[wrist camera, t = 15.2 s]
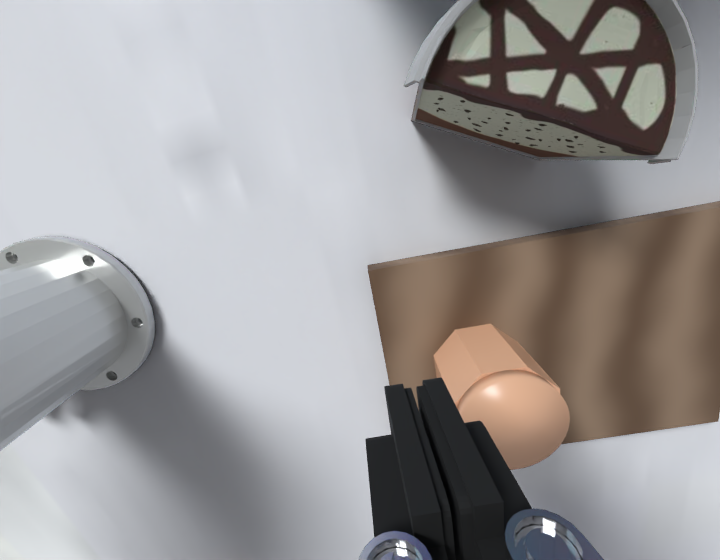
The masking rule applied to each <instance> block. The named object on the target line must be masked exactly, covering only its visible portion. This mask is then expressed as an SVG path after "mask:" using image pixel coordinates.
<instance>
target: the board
mask: <svg viewBox="0 0 720 560" xmlns="http://www.w3.org/2000/svg"><path fill="white" fill-rule="evenodd" d="M368 273H369V278H370V284H371V289H372V294H373V300H374V305H375V310H376V315H377V321H378V326H379V331H380V336H381V342H382V347H383V352H384V357H385V363H386V368H387V373H388V379H389V384H390V385H396V384H403V386H404V388H410V387H411V389H412V392H413V395H414V398H415V401H416V404H417V407H418V399H417V390H416V387H417V386H423V385H422V381H423V380H428V379H434V378H437V376H436V369H435V362H434V356H433V355H434V354H435V353H436V352H437V351H438V349H439V348H440V347H441V346H442V345H443V343H444V342H445V341H446V340H447V339H448V338H449V336H450V335H451V334H452V333H453V332H454V330H455V329H461V328H467V327H473V326H479V325H485V324H492V325H493V326H495V327H496V328H498V329H499V330H501V331H502V332H504V333H505V334H507V335H508V336H510V337H511V338H512V339H514V340H515V341H517V342H518V343H519V344H520V345H521V346H522V347H523V348H524V349H525V351H526V352H527V353H528V354H529V355H530V356H531V357H532V358H533V359H534V360H535V361H536V363H537V364H538V365H539V366H540V367H541V368H542V369H543V370H544V371H545V372H546V374H547V375H548V376H549V377H550V378H551V379H552V380H553V381H554V382H555V383H556V384H557V386H558V387H559V388H560V395H561V396H562V397H563V399H564V400H565V402H566V404H567V406H568V409H569V414H570V424H569V429H568V432H567V434H566V437H565V438H564V440H563V442H562V443H561V444H566V443H572V442H579V441H586V440H593V439H600V438H607V437H614V436H621V435H627V434H634V433H641V432H648V431H655V430H662V429H669V428H676V427H682V426H689V425H696V424H703V423H710V422H717V421H718V419H719V412H720V201H718V202H713V203H707V204H702V205H696V206H691V207H685V208H680V209H674V210H669V211H664V212H658V213H653V214H647V215H642V216H636V217H631V218H625V219H620V220H614V221H609V222H603V223H598V224H592V225H587V226H581V227H576V228H570V229H565V230H559V231H554V232H548V233H543V234H537V235H532V236H526V237H521V238H515V239H510V240H504V241H499V242H493V243H488V244H482V245H477V246H471V247H466V248H460V249H455V250H449V251H444V252H438V253H433V254H427V255H422V256H416V257H411V258H405V259H400V260H394V261H389V262H383V263H378V264H372V265H368ZM418 410H419V408H418Z"/></svg>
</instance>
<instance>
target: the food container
mask: <svg viewBox="0 0 720 560" xmlns="http://www.w3.org/2000/svg"><path fill="white" fill-rule="evenodd" d="M416 82H417V83H419V86H418V91H417V95H416V100H415V105H414V109H413V114H412V119H411V121H414V122H418V123H421V124H424V125H427V126H431V127H434V128H437V129H440V130H444V131H447V132H450V133H453V134H457V135H460V136H463V137H466V138H470V139H473V140H476V141H479V142H483V143H486V144H489V145H492V146H496V147H499V148H502V149H505V150H509V151H512V152H515V153H518V154H522V155H525V156H528V157H531V158H535V159H538V160H649V161H648V163H649V164H655V163H663V162H671V160H676V159H679V156H680V154H681V152H682V150H683V147H684V145H685V143H686V141H687V138H688V135H689V131H690V128H691V125H692V121H693V118H694V114H695V108H696V101H697V94H698V62H697V55H696V49H695V42H694V39H693V36H692V33H691V30H690V27H689V24H688V21H687V19H686V17H685V15H684V13H683V12H682V10H681V8H680V6H679V4H678V3H677V1H676V0H459V1H457V2H456V3H455V4H454V5H453V6H452V7H451V8H450V9H449V10H448V11H447V12H446V13H445V14H444V16H443V17H442V18H441V19H440V20H439V21H438V22H437V23H436V25H435V26H434V28H433V29H432V30H431V32H430V33H429V35H428V36H427V37H426V39H425V40H424V42H423V43H422V45H421V47H420V49H419V51H418V53H417V55H416V57H415V59H414V60H413V62H412V64H411V67H410V70H409V72H408V75H407V78H406V81H405V83H404V86H405V87H408V86H410V85H412V84H414V83H416Z"/></svg>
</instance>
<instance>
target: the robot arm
mask: <svg viewBox="0 0 720 560" xmlns="http://www.w3.org/2000/svg"><path fill="white" fill-rule="evenodd" d="M154 336H155V321H154V316H153V311H152V307H151V304H150V302H149V299H148V297H147V295H146V293H145V291H144V290H143V288H142V286H141V285H140V283H139V282H138V280H137V279H136V278H135V277H134V275H133V274H132V273H131V272H130V271H129V270H128V269H127V268H126V267H125V266H124V265H123V264H122V263H120V262H119V261H118V260H117V259H116V258H114V257H113V256H112V255H110V254H108V253H107V252H105V251H103V250H102V249H100V248H98V247H96V246H94V245H91V244H89V243H86V242H84V241H81V240H77V239H72V238H68V237H59V236H45V237H39V238H32V239H28V240H24V241H20V242H17V243H14V244H12V245H10V246H8V247H6V248H4V249H3V250H1V251H0V451H1V450H2V449H4V448H5V447H6V446H7V445H9V444H10V443H11V442H13V441H14V440H15V439H16V438H18V437H19V436H20V435H22V434H23V433H24V432H25V431H27V430H28V429H29V428H31V427H32V426H33V425H35V424H36V423H37V422H38V421H40V420H41V419H42V418H44V417H45V416H46V415H47V414H49V413H50V412H51V411H53V410H54V409H55V408H56V407H58V406H59V405H60V404H62V403H63V402H64V401H65V400H67V399H68V398H69V397H71V396H72V395H73V394H75V393H76V392H77V391H78V390H96V389H103V388H106V387H109V386H112V385H115V384H118V383H119V382H121V381H123V380H124V379H126V378H128V377H129V376H130V375H131V374H132V373H134V372H135V371H136V370H137V369H138V368H139V367H140V366H141V365H142V363H143V362H144V361H145V360H146V359H147V357H148V355H149V353H150V351H151V349H152V345H153V341H154ZM422 385H423V386H417V387H416V390H417V399H418V407H417V404H416V401H415V398H414V395H413V392H412V389H411V387H410V388H404V386H403V384H396V385H390V386H385V394H386V401H387V408H388V415H389V422H390V428H391V435H386V436H380V437H373V438H367V439H366V450H367V461H368V472H369V483H370V494H371V505H372V516H373V526H374V537H375V538H373V539H372V540H371V541H370V542H369V543H368V544H367V545H366V546H365V548H364V549H363V551H362V553H361V555H360V556H359V560H604V559H603V558H602V557H601V556H600V555H599V553H598V552H597V551H596V550H595V549H594V547H593V546H592V545H591V544H590V543H589V542H588V540H587V539H586V538H585V537H584V536H583V534H582V533H581V532H580V531H579V530H578V529H577V528H576V527H575V526H574V525H572V524H571V523H570V522H569V521H567V520H566V519H564V518H562V517H561V516H559V515H557V514H555V513H552V512H549V511H547V510H541V509H532V508H531V506H530V504H529V502H528V501H527V499H526V497H525V495H524V494H523V492H522V490H521V488H520V487H519V485H518V483H517V481H516V480H515V478H514V476H513V474H512V473H511V471H510V469H509V467H508V466H507V464H506V462H505V460H504V459H503V457H502V455H501V453H500V452H499V450H498V448H497V446H496V445H495V443H494V441H493V439H492V438H491V436H490V434H489V432H488V431H487V429H486V427H485V426H484V424H483V423H482V422H481V421H480V420H479V421H473V422H467V423H464V421H463V419H462V417H461V415H460V413H459V411H458V409H457V407H456V405H455V403H454V401H453V399H452V397H451V395H450V393H449V391H448V389H447V387H446V385H445V383H444V381H443V379H442V378H441V377H440V378H434V379H428V380H423V381H422ZM418 408H419V410H418Z"/></svg>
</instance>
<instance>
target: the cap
mask: <svg viewBox="0 0 720 560" xmlns="http://www.w3.org/2000/svg"><path fill="white" fill-rule="evenodd" d="M433 356H434V362H435V369H436V376H437V378H440V377H441V378H442V379H443V381H444V383H445V385H446V387H447V389H448V391H449V393H450V395H451V397H452V399H453V401H454V403H455V405H456V407H457V409H458V411H459V413H460V415H461V417H462V419H463V421H464V423H467V422H473V421H479V420H480V421H481V422H482V423H483V424H484V426H485V427H486V429H487V431H488V432H489V434H490V436H491V438H492V439H493V441H494V443H495V445H496V446H497V448H498V450H499V452H500V453H501V455H502V457H503V459H504V460H505V462H506V464H507V466H508V467H509V469H510V470H513V469H520V468H525V467H528V466H531V465H534V464H536V463H538V462H540V461H542V460H544V459H545V458H547V457H548V456H550V455H551V454H552V453H553V452H554V451H555V450H556V449H557V448H558V447H559V446H560V445H561V443H562V442H563V440H564V438H565V437H566V434H567V432H568V429H569V424H570V414H569V409H568V406H567V404H566V402H565V400H564V399H563V397H562V396H561V395H560V388H559V387H558V386H557V384H556V383H555V382H554V381H553V380H552V379H551V378H550V377H549V376H548V375H547V374H546V372H545V371H544V370H543V369H542V368H541V367H540V366H539V365H538V364H537V363H536V361H535V360H534V359H533V358H532V357H531V356H530V355H529V354H528V353H527V352H526V351H525V349H524V348H523V347H522V346H521V345H520V344H519V343H518V342H517V341H515V340H514V339H512V338H511V337H510V336H508V335H507V334H505V333H504V332H502V331H501V330H499V329H498V328H496V327H495V326H493V325H492V324H485V325H479V326H473V327H467V328H461V329H455V330H454V332H453V333H452V334H451V335H450V336H449V338H448V339H447V340H446V341H445V342H444V343H443V345H442V346H441V347H440V348H439V349H438V351H437V352H436V353H435V354H434V355H433Z"/></svg>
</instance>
